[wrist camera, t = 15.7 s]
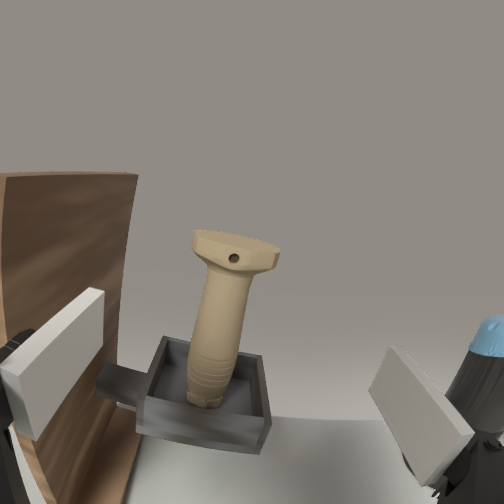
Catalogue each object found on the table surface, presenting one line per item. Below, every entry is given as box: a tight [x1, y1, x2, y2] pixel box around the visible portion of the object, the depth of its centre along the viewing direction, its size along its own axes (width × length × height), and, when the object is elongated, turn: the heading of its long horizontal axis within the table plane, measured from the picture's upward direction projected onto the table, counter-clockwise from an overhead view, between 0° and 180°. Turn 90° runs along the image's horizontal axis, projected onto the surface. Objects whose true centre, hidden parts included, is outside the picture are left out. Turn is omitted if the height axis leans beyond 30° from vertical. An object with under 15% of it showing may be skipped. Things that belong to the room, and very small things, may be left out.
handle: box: [187, 229, 280, 409], centre depth 25 cm, size 5×6×15 cm
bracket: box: [0, 172, 272, 504], centre depth 21 cm, size 16×18×28 cm
